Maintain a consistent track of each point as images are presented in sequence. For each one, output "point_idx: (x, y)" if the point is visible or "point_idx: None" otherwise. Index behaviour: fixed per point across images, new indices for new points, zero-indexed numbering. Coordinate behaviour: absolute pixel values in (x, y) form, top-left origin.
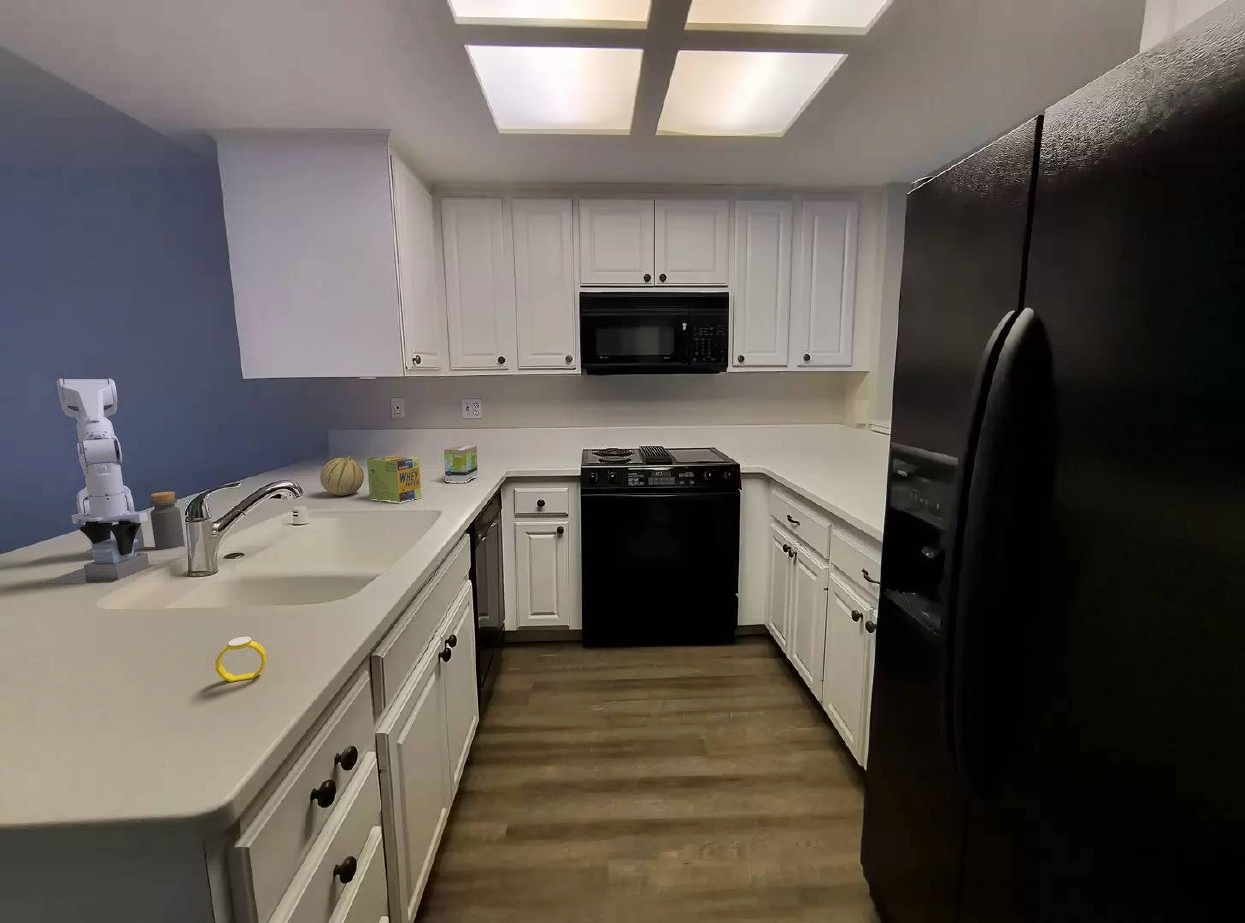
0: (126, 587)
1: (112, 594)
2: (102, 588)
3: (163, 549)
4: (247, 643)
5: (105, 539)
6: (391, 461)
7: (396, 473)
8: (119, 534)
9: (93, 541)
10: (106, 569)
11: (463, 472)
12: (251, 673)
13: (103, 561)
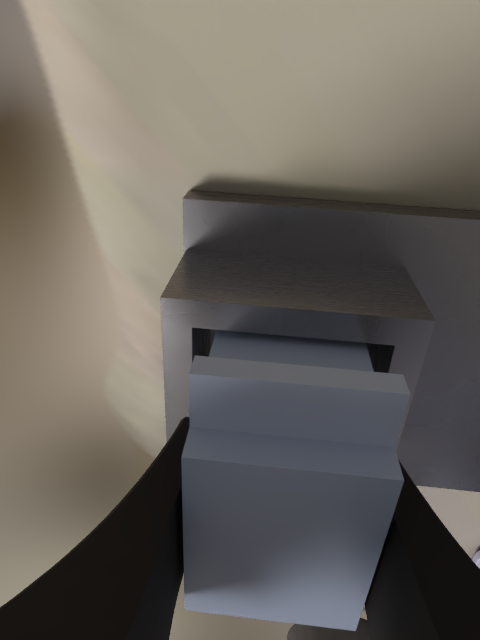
0: (90, 173)
1: (56, 35)
2: (235, 171)
3: (334, 631)
4: None
5: (377, 595)
6: None
7: None
8: (66, 580)
9: (434, 545)
10: (246, 285)
11: None
12: None
13: (295, 352)
